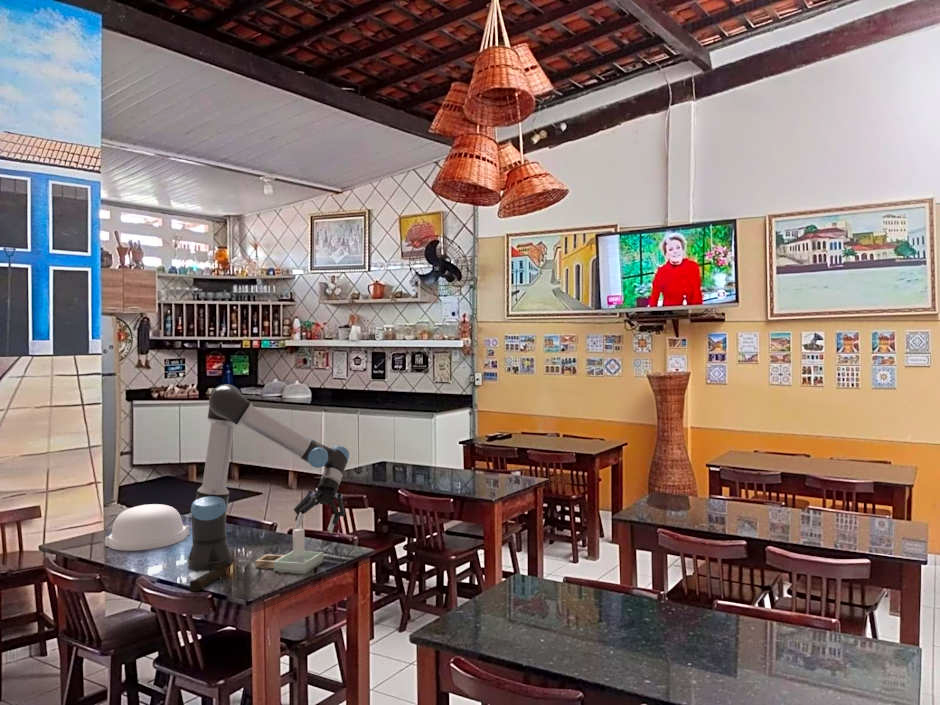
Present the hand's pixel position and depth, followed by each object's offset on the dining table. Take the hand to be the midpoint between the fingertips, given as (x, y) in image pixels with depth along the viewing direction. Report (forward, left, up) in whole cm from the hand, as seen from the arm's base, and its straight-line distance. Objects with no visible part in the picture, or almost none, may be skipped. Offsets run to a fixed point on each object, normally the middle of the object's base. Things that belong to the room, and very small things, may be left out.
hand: (312, 530), depth 276 cm
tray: (0, -12, -10) cm, 15 cm away
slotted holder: (-11, -12, -10) cm, 19 cm away
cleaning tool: (0, -11, -9) cm, 15 cm away
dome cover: (-79, +10, -10) cm, 81 cm away
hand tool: (-22, -33, -10) cm, 41 cm away
